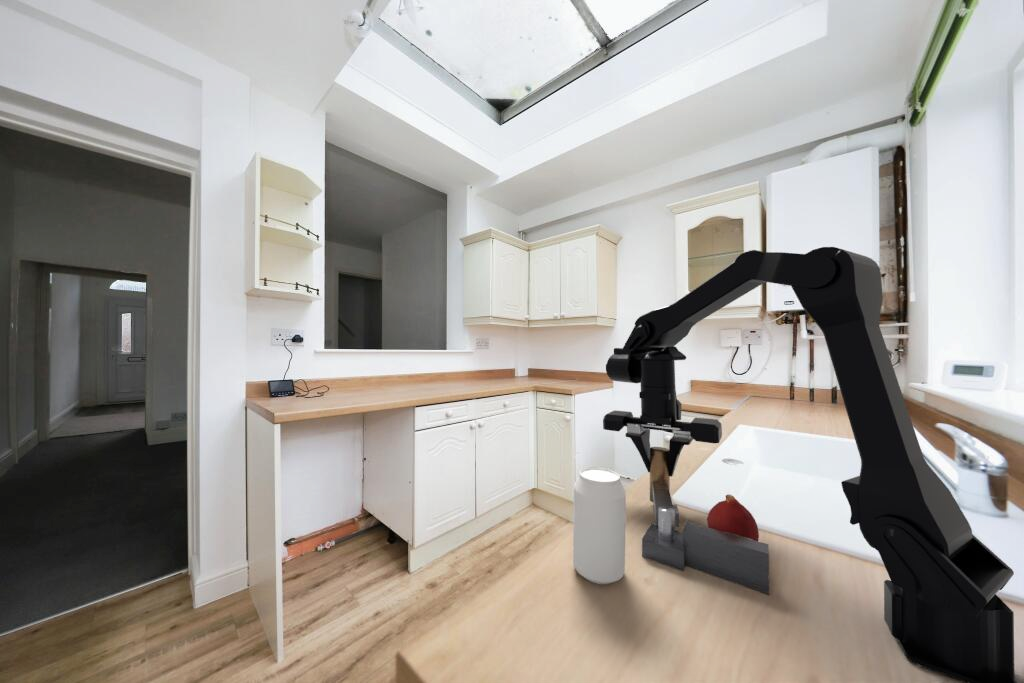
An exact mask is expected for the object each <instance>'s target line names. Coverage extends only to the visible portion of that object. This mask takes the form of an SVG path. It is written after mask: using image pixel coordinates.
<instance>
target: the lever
mask: <svg viewBox="0 0 1024 683" xmlns="http://www.w3.org/2000/svg"><path fill="white" fill-rule="evenodd" d="M670 478H671V476H669V448H666V447H662V446H661V447H660V446H650V473H649V501H650V502H651V503H653V510H654V518H655V524H656V525H658V516H659V507H660V506H667V507H670V508H673V509H674V510H675V527H676V528H679V527H680V513H679V508H678V504H673V501H672V496H671V492H670V486H671V485H670V484H671V483H670V480H671V479H670Z"/></svg>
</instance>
